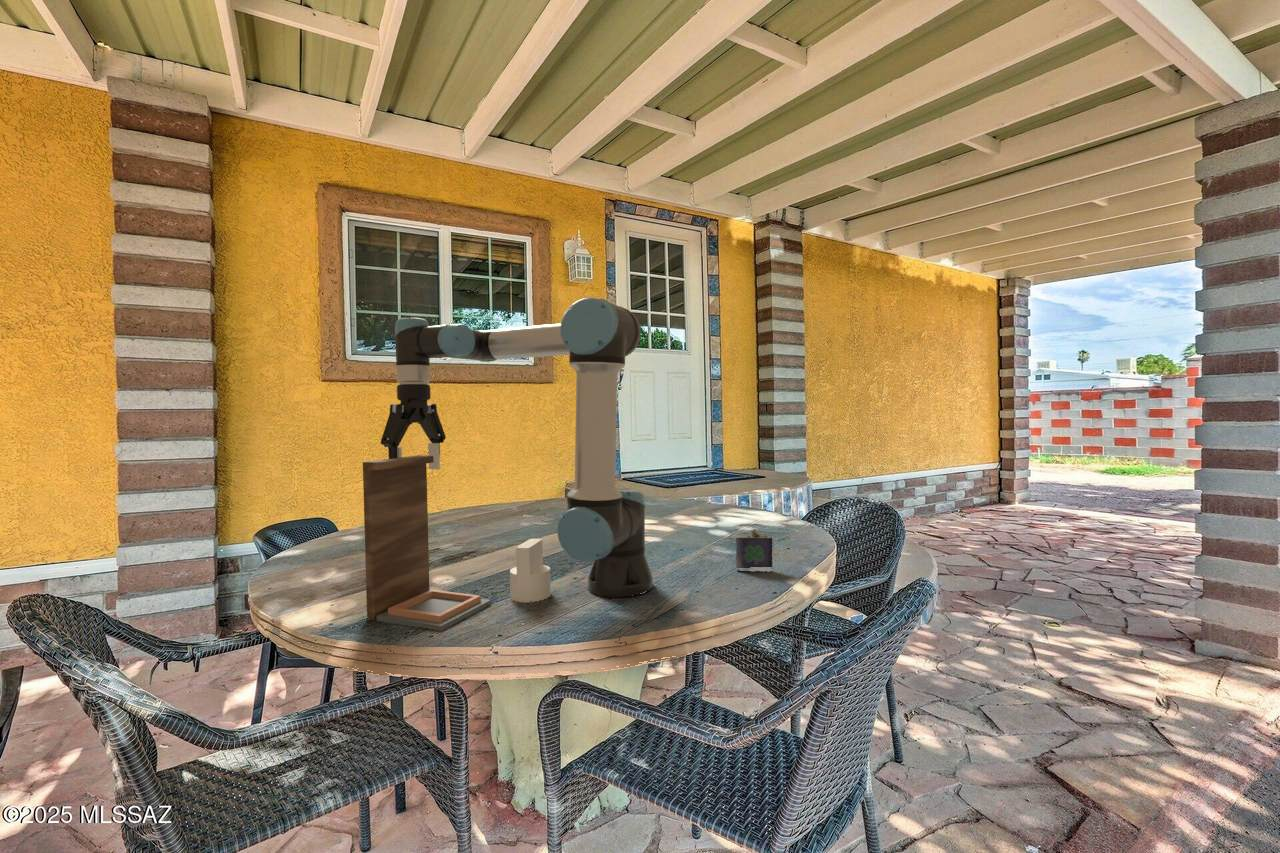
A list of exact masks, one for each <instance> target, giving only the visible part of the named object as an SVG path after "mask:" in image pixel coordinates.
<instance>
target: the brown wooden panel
mask: <svg viewBox="0 0 1280 853" xmlns="http://www.w3.org/2000/svg"><path fill="white" fill-rule="evenodd" d="M433 462H434V460H433V456H429V455H422V454H421V455H419V454H418V455H412V456H402V457H401V458H392V459H389V458H386V459H385V458H384V459H379V460H378V459H377V460H375V459H374V460H368V461H362V482H363V483H362V484H363V490H362V491H363V516H364V517H363V518H364V520H363V521H364V554H365V556H364V558H365V559H364V560H365V585H366V587H365V591H366V620H368V621H377V616H378V615H380V614H382V613H385V612H387V611H388V608H390V607H393V606H395V605H397V604H400V603H402V602H404V601H407V600H409V599H411V598H414V597H416V596H418V595H421V594H423V593H425V592H428V591H430V590H431V589H430V557H429V556H430V555H429V551H430V550H429V520H428V517H429V515H428V508H429V507H428V475H427V474H428V472H427V471H428V470H427V468H428V466H427V464H429V463H433Z"/></svg>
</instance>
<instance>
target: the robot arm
mask: <svg viewBox="0 0 1280 853" xmlns="http://www.w3.org/2000/svg"><path fill="white" fill-rule="evenodd" d="M641 334H642V333H641V325H640V323H639V320H638V318H637V317H636V316H635V315H634V313H632V312H631V311H630V310H629V309H627V308H625V307H623V306H620V305H617V304H614V303H612V302H610V301H609V300H607V299H604V298H596V297H585V298H582V299H581V298H580V299H579V300H577V301H575V302H573V303H572V304H571V305H570V306H569V307H568V308H567V309H566V311H565V312H564V314H563V316H562V317H561V322H560V323H552V324H551V323H550V324H541V325H540V324H539V325H531V326H530V325H529V326H518V327H516V326H515V327H507V328H506V327H505V328H498V329H495V328H494V329H485V330H478V329H471V328H470V327H469V326H468V325H467V324H464V323H454V322H452V323H449V324H448V323H447V324H439V325H429V322H428V320H426V319H425V318H421V317H401V318H398V319H397V320H396V321H395V326H394V335H393V336H394V341H395V342H394V343H395V361H396V363H395V364H396V365H395V366H396V382H397V383H399V384H398V385H397V386H396V399H397V400H398V401H400V403H391V404H390V406H389V415H388V417H387V421H386V424H385V427H384V431H383V433H382V436H381V439H380V444H381V445H382V446H383V447H384V448H387V450H388V459H392V458H401V457H403V453H402V452H403V450H402V449H403V448H402V446H400V444H401V441H402V440H403V439H404V437H405V434H406V433H407V431H408V429H409V428H410V425H412V424H416V423H417V424H419V425H420V427H421V428H422V430H423V432H424V433H425V435H426V437H427V438H428V440H429V443H428V445H427V446H428V448H427V449H428V454H427V455H428V456H433V460H434V462H433V463H428V469H429V470H440V469H441V466H440V465H441V464H440V462H441V461H440V460H441V458H440V455H441V444H442V443H444V442H445V440H446V437H447V436H446V433H445V431H444V428H443V425H442V423H441V420H440V417H439V413H438V409H437V404H436V403H428V401H429V400H431V385H430V384H429V383H430V382H431V366H430V361H431V360H430V359H435V358H437V359H438V358H440V359H441V358H448V359H449V358H451V359H462V360H469V361H470V360H471V361H472V360H473V361H479V362H482V363H487V362H488V363H489V362H495V361H497V360H507V359H508V360H509V359H510V360H511V359H523V358H524V359H525V358H538V357H539V358H540V357H541V358H542V357H554V356H555V357H557V356H569V358H568V360H569V366H570V367H571V368H572V369H573V370H574V372H575V374H576V381H575V382H576V383H575V384H576V386H575V388H576V389H575V390H576V391H575V392H576V393H575V398H576V399H575V437H574V438H575V445H574V448H575V449H574V452H575V453H574V486H573V488H572V489H571V490H569V491H568V493H567V495H566V502H567V503H566V511H565V512H564V513H563V514H562V515H561V517H560V518H559V520H558V523H557V529H556V531H557V532H556V534H557V537H558V541H559V544H560V546H561V548H562V549H563V550H565V552H566V553H567V555H568V556H570V557H572V559H575V560H576V561H580V562H585V563H590V562H591V563H592V565H591V568H590V570H589V571H590V572H589V575H588V579H587V580H588V581H587V583H588V584H587V588H588V591H589V592H590V593H592V594H594V595H597V596H601V597H606V596H607V597H606V598H624V597H623V596H631V597H633V596H632V595H637V594H640V593H643V592H645V591H648V590H649V589H651V588H652V586H654V584H653V583H654V581H653V579H654V578H653V575H652V572H651V570H650V566H649V563H648V560H647V557H646V549H645V547H646V540H645V538H646V536H645V534H646V532H645V531H646V530H645V528H646V526H645V521H646V519H645V518H646V516H645V515H646V514H645V513H646V511H645V510H646V504H645V496H644V494H643V492H641V491H638V490H628V489H627V490H626V489H618V488H617V487H616V468H617V467H616V466H617V465H616V462H617V461H616V458H617V455H616V454H617V418H618V417H617V415H618V414H617V413H618V409H617V408H618V374H619V372H620V371H621V370H622V369H623V368H624V367H625V365H626V357H627V356H630V354H632V353H633V352H634V351H635V350H636V348H637V347H638V345H639V343H640V340H641ZM652 589H653V588H652ZM652 589H651V590H652ZM637 596H638V595H637Z"/></svg>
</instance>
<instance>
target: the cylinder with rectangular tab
mask: <svg viewBox="0 0 1280 853" xmlns="http://www.w3.org/2000/svg"><path fill="white" fill-rule="evenodd" d="M515 549H516V550H515V553H516V555H515V556H516V559H515V560H516V562H515V563H516V566H515V567H512V568H510V570H509V589H510V591H509V595H510V599H511V600H512V599H513V600H512V601H514V600H516V601H515V602H517V601H522V602H521V603H535V601H537V602H540V600H541V601H544V599H545V600H547V599H548V597H549V598H550V597H551V594H552V593H551V592H552V591H551V590H552V587H551V567H550V566H548V565H546V564H544V561H543V560H544V559H543V558H544V557H543V556H544V555H543V553H544V552H543V550H544V549H543V538H529V539H528V540H526V541H525V542H523V543H521V544H519V545H518V546H517V547H516V548H515ZM530 601H532V602H530ZM533 601H534V602H533Z"/></svg>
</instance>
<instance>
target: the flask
mask: <svg viewBox="0 0 1280 853" xmlns="http://www.w3.org/2000/svg"><path fill="white" fill-rule="evenodd" d="M756 531H757V528H754V529H750V535H737V536H736V537H735V568H736V567H737V568H750V567H772V568H773V537H772V536H770V535H766V534H764V533H763V534H762V533H761V534H760V533H758V532H756Z"/></svg>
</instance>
